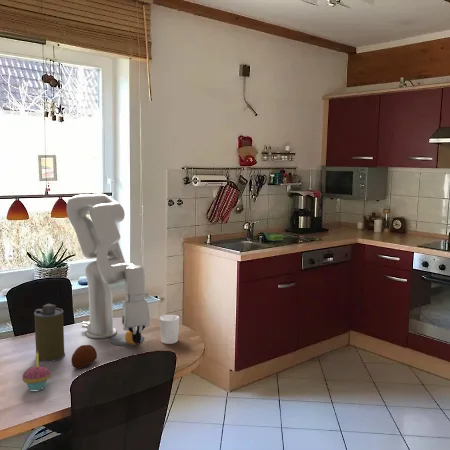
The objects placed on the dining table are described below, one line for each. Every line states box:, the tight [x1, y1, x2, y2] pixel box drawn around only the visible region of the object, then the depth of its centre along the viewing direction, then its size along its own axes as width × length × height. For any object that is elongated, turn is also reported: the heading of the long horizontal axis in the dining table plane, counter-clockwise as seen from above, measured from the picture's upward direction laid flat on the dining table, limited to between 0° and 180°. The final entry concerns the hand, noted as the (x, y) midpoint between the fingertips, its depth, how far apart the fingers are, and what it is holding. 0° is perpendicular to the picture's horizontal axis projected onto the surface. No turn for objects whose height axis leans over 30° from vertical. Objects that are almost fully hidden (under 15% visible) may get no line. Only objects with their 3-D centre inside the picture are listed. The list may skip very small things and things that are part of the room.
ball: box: [125, 329, 137, 346], centre depth 202 cm, size 6×6×6 cm
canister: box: [33, 303, 66, 362], centre depth 188 cm, size 11×10×20 cm
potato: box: [71, 344, 98, 369], centre depth 181 cm, size 8×12×8 cm, turn 164°
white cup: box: [159, 314, 180, 345], centre depth 206 cm, size 8×8×10 cm
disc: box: [109, 332, 145, 347], centre depth 207 cm, size 14×14×1 cm
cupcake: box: [22, 351, 51, 391], centre depth 163 cm, size 9×8×12 cm
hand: (136, 342), depth 199 cm, fingers closed
